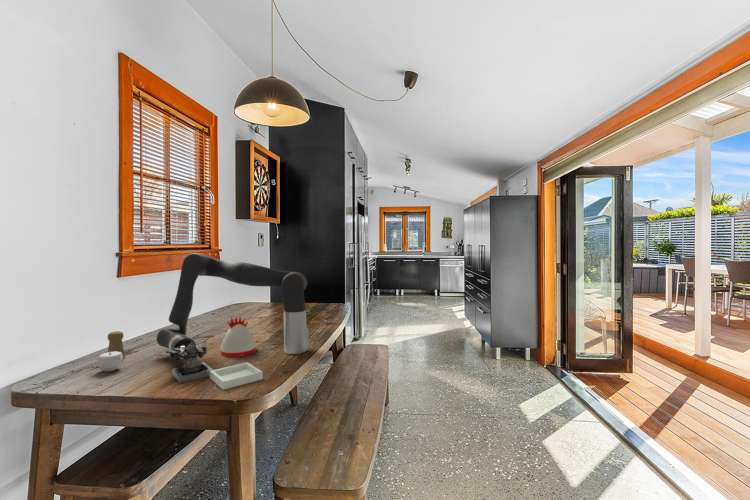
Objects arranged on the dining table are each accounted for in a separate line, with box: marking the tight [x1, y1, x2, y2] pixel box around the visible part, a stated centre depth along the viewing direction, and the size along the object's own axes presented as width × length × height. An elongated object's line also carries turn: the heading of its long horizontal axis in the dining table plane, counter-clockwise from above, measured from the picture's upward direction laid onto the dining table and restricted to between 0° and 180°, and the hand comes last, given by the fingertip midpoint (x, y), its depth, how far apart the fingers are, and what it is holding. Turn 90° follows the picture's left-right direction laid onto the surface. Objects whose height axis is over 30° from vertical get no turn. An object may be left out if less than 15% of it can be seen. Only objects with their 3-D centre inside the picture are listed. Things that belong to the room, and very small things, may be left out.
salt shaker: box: [182, 340, 202, 375], centre depth 125 cm, size 6×6×12 cm
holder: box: [171, 362, 214, 384], centre depth 125 cm, size 10×10×2 cm
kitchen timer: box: [220, 316, 257, 358], centre depth 151 cm, size 14×14×15 cm
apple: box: [96, 351, 124, 372], centre depth 131 cm, size 8×8×7 cm
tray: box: [209, 362, 264, 391], centre depth 121 cm, size 13×13×2 cm
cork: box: [107, 330, 126, 360], centre depth 143 cm, size 6×6×11 cm
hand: (194, 356), depth 123 cm, fingers open, 4 cm apart
